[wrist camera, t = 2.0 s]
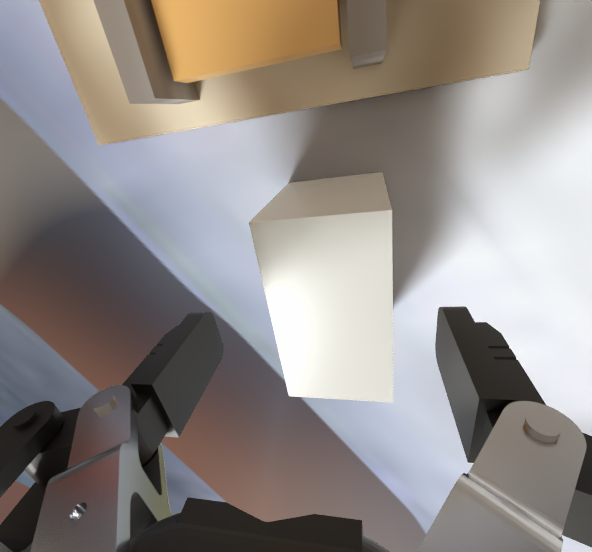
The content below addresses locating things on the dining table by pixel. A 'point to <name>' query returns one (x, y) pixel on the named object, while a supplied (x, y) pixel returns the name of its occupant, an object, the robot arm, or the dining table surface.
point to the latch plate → (243, 34)
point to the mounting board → (287, 75)
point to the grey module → (330, 285)
